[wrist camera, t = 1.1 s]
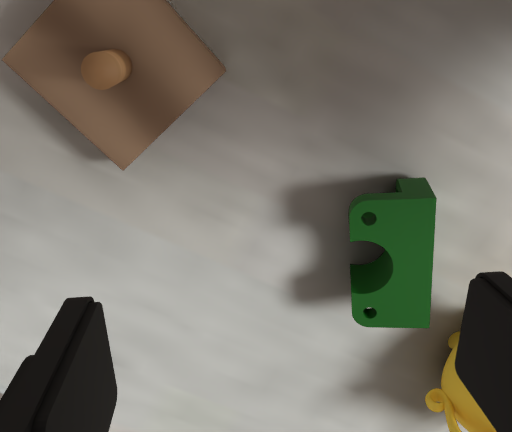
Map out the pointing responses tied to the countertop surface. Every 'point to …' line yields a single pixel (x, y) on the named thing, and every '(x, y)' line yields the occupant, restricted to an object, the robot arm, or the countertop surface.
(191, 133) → the countertop surface
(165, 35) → the post block
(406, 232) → the clamp
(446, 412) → the teapot
